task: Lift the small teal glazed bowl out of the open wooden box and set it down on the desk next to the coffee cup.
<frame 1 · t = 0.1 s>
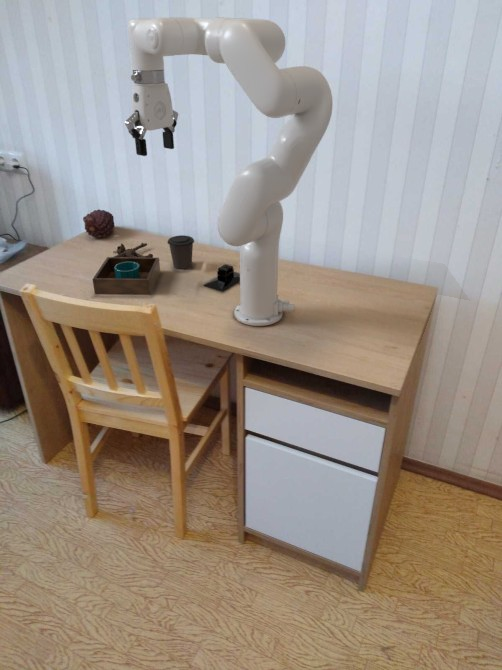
hand: (155, 151, 137), 37 cm above the table, tool pointing down, fingers open, 9 cm apart
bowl: (128, 282, 155), point 1 cm above the table, touching open wooden box
brown branch: (133, 259, 172), on the table
coffee cup: (182, 268, 165), on the table
open wooden box: (129, 284, 155), on the table
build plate: (225, 282, 157), on the table
pine cone: (102, 235, 190), on the table
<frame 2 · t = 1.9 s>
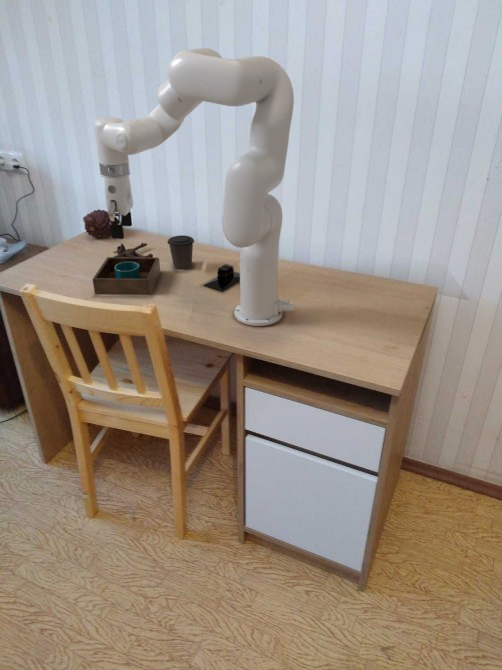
hand: (122, 232, 147), 16 cm above the table, tool pointing down, fingers open, 9 cm apart
nothing on the table moved.
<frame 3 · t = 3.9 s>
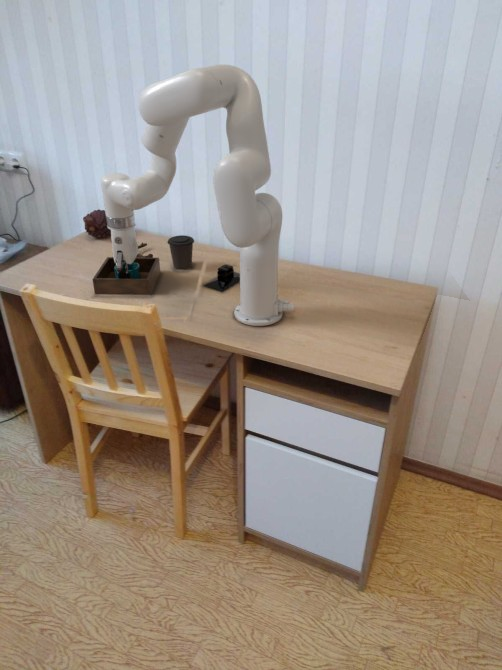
hand: (128, 279, 154), 2 cm above the table, tool pointing down, fingers closed on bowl, 7 cm apart
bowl: (128, 282, 155), point 1 cm above the table, touching open wooden box, gripper
everything else where it was.
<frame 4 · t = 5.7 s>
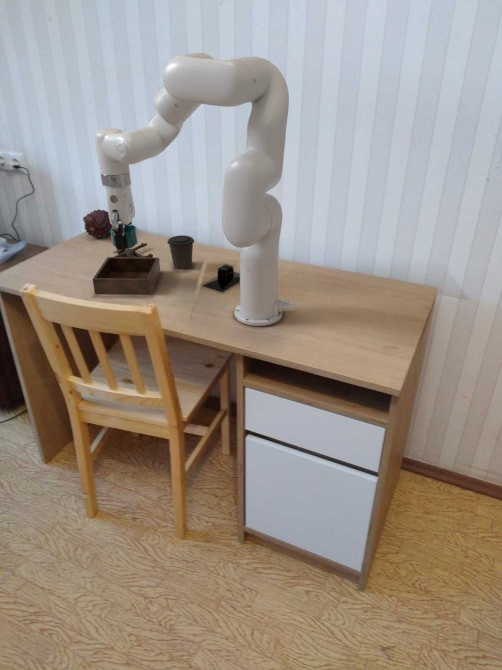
hand: (125, 243, 148), 13 cm above the table, tool pointing down, fingers closed on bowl, 7 cm apart
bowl: (125, 245, 149), point 12 cm above the table, touching gripper
everything else where it was.
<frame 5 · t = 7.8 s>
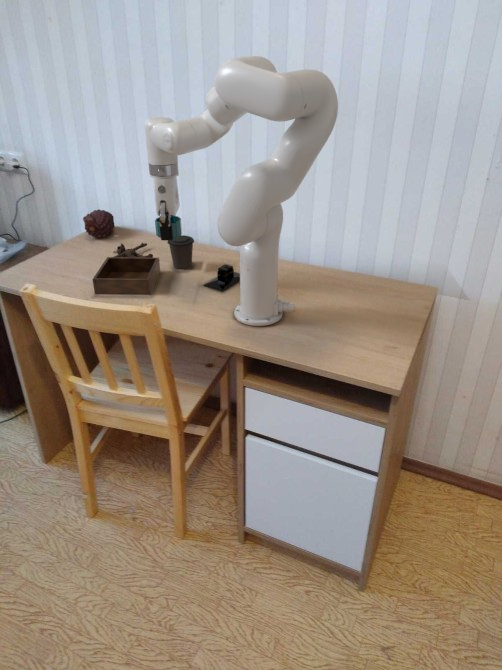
hand: (169, 234, 147), 15 cm above the table, tool pointing down, fingers closed on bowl, 7 cm apart
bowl: (169, 237, 147), point 15 cm above the table, touching gripper
everything else where it was.
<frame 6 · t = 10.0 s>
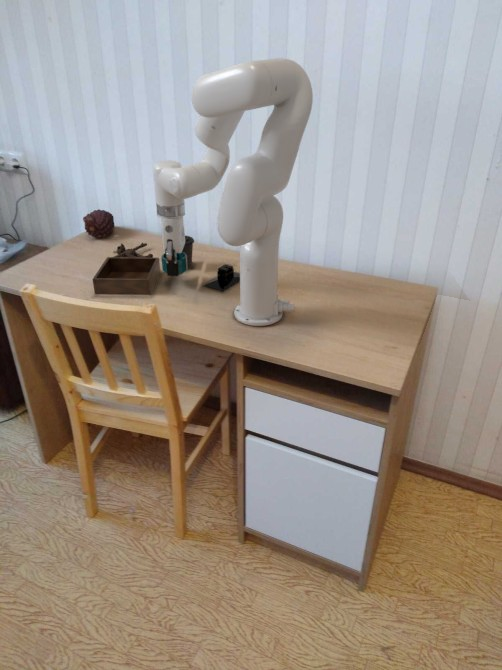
hand: (175, 269, 152), 5 cm above the table, tool pointing down, fingers closed on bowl, 7 cm apart
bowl: (175, 271, 153), point 4 cm above the table, touching gripper
everything else where it was.
when the fingers open (1 cm above the table, at t = 11.6 s): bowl stays where it is, on the table.
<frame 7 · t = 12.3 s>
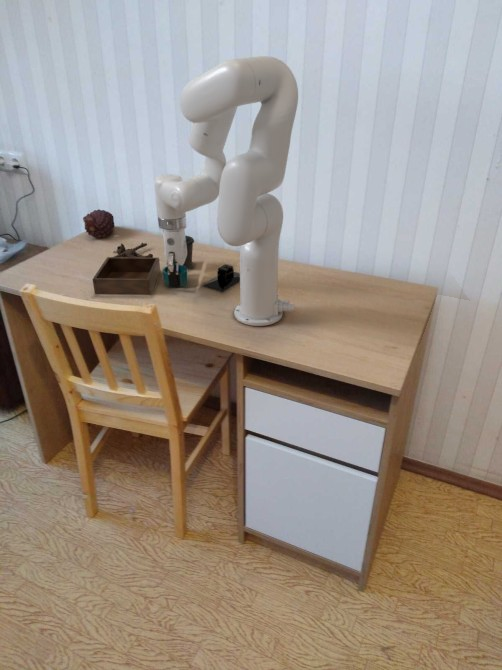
hand: (177, 279, 154), 2 cm above the table, tool pointing down, fingers open, 9 cm apart
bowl: (176, 285, 155), on the table
everything else where it was.
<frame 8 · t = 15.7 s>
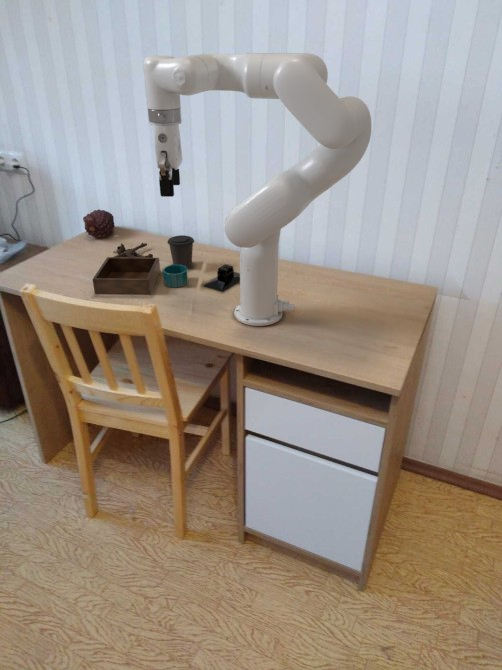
hand: (170, 190, 131), 30 cm above the table, tool pointing down, fingers open, 9 cm apart
nothing on the table moved.
at the end: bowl inside the target area (0.1 cm from its centre), on the table; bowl 11.9 cm from the coffee cup (horizontally); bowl tilted 0° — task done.
